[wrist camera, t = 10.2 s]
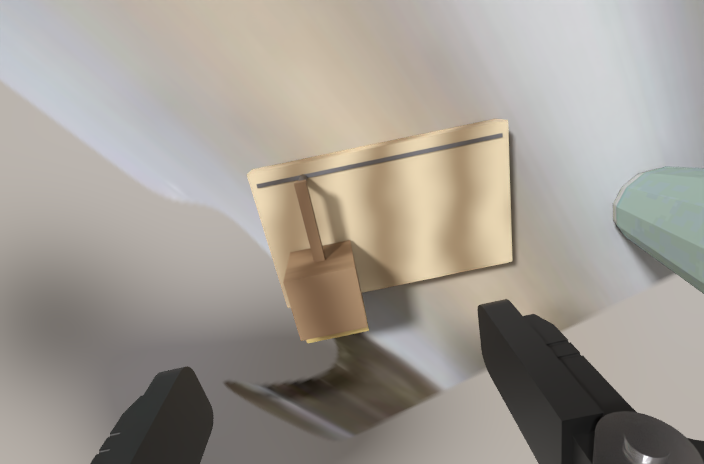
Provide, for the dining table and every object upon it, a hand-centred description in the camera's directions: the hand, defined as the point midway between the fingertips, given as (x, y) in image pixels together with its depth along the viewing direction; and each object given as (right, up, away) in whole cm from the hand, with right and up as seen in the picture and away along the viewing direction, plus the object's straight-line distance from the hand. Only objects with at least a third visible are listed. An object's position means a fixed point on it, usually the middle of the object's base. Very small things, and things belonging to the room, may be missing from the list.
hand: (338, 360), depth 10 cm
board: (+3, +5, +21) cm, 22 cm away
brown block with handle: (-2, +3, +21) cm, 21 cm away
